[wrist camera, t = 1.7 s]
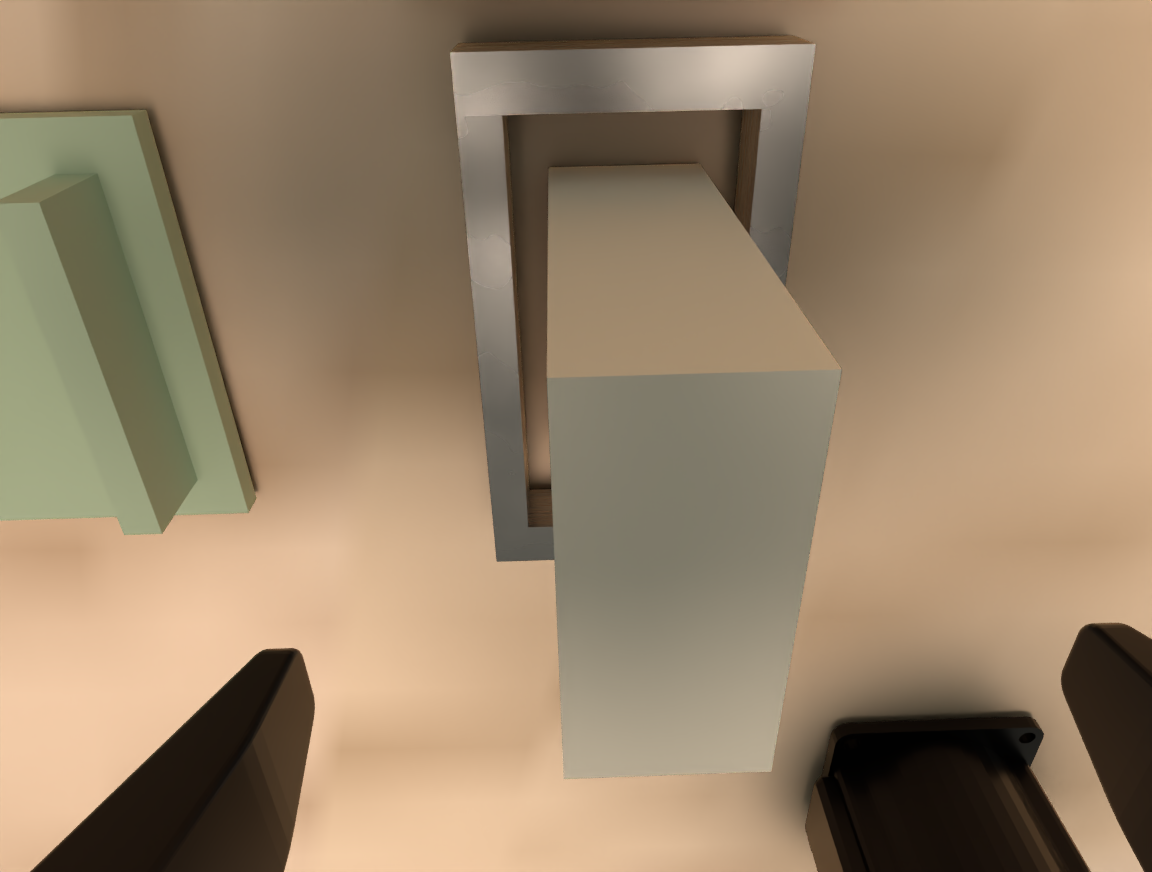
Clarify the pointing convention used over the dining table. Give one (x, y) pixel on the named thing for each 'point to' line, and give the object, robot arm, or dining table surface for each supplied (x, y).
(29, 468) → the holder
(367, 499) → the dining table surface
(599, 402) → the long rectangular block
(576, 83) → the frame
